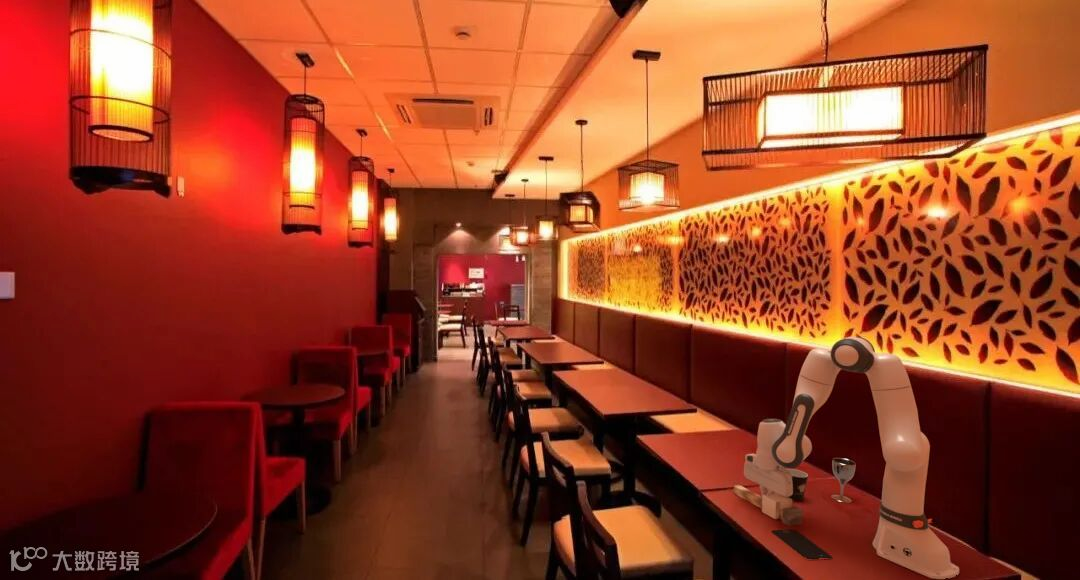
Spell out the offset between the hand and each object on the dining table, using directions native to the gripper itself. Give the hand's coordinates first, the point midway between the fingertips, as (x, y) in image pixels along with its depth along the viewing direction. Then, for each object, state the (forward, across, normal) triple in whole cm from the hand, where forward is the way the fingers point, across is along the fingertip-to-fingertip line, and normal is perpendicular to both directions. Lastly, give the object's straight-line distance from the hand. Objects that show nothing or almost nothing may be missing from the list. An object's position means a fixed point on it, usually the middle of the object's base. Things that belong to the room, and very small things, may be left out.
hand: (766, 498), depth 196 cm
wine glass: (+4, -2, -38) cm, 38 cm away
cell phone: (+4, -24, +10) cm, 26 cm away
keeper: (+4, -5, 0) cm, 6 cm away
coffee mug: (+4, +5, -18) cm, 19 cm away
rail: (+4, +1, 0) cm, 4 cm away
